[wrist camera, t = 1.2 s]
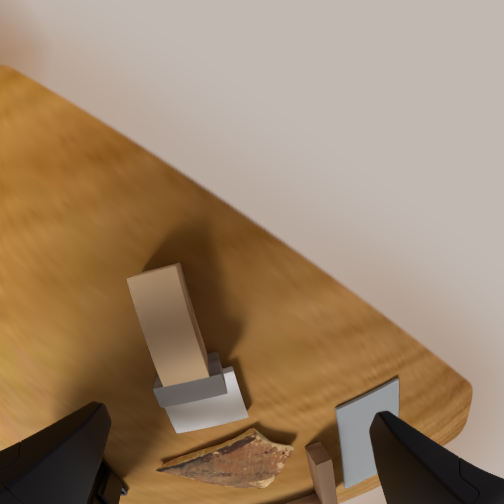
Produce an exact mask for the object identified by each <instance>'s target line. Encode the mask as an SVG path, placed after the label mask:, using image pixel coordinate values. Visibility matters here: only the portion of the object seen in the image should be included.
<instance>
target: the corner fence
mask: <svg viewBox="0 0 504 504" xmlns="http://www.w3.org/2000/svg"><path fill="white" fill-rule="evenodd" d="M305 450H306V454H307V459H308V463H309V467H310V472H311V476H312V481H313V485H314V489H315V493H314V494H311V495H308V496H305V497H303V498H300V499H297V500H294V501H291V502H287V503H284V504H338V503H337V495H336V487H335V479H334V471H333V464H332V459H331V457H330V456H329V454H328V453H327V451H326V450H325V449H324V447H323V446H322V444H321V443H320V441H319V442H316V443H314V444H311V445H309V446H306V447H305Z"/></svg>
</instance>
